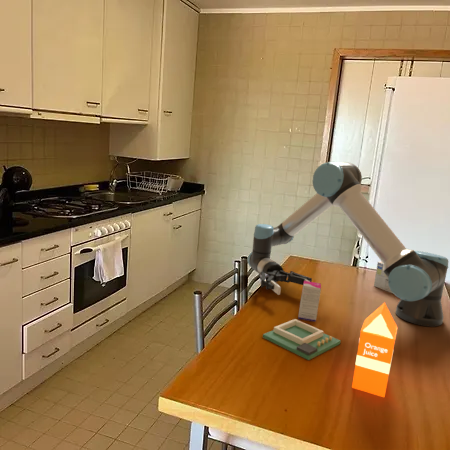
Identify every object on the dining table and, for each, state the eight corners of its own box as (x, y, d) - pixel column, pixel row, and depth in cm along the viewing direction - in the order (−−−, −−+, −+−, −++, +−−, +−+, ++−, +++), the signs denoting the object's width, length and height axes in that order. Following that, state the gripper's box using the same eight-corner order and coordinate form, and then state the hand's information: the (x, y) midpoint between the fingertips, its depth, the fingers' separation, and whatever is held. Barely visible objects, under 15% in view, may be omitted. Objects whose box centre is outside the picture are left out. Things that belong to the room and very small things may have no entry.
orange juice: (388, 380, 111) (401, 305, 107) (384, 397, 103) (399, 317, 99) (356, 371, 114) (368, 297, 110) (350, 387, 106) (363, 309, 102)
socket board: (340, 343, 128) (341, 335, 128) (308, 360, 117) (309, 351, 117) (295, 324, 139) (296, 316, 139) (262, 337, 128) (263, 329, 128)
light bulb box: (405, 292, 179) (410, 267, 177) (395, 295, 175) (399, 269, 173) (383, 284, 188) (387, 259, 186) (373, 286, 184) (377, 261, 182)
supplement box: (316, 322, 142) (321, 288, 140) (298, 319, 143) (302, 285, 141) (316, 315, 148) (321, 282, 146) (298, 312, 149) (302, 280, 147)
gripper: (297, 278, 176) (327, 298, 157) (239, 280, 167) (263, 302, 148) (300, 260, 175) (329, 278, 155) (241, 261, 166) (265, 280, 146)
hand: (297, 290), depth 152 cm, fingers open, 13 cm apart
